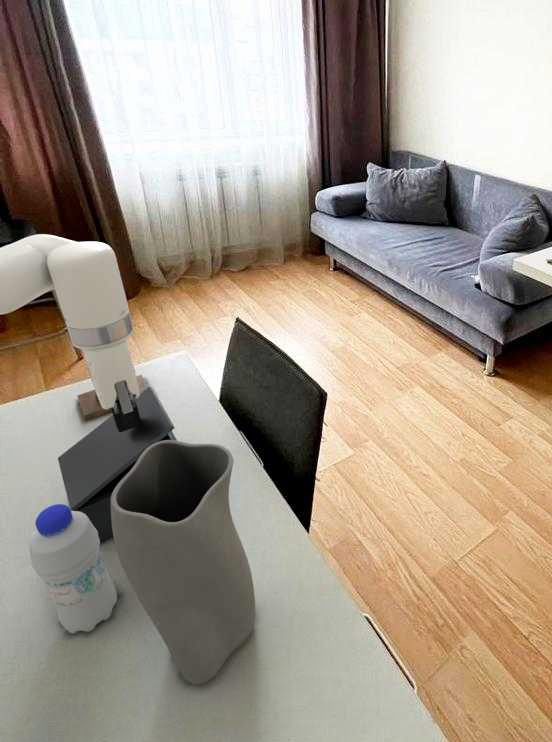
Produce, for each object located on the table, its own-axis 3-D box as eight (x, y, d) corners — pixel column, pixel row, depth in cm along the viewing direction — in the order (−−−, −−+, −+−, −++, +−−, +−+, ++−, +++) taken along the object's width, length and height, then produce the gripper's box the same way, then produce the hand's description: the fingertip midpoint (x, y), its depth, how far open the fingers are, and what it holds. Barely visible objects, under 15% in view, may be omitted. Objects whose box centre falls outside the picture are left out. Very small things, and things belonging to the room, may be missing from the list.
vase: (217, 715, 58) (173, 545, 45) (136, 675, 61) (73, 505, 48) (280, 614, 69) (259, 453, 56) (208, 584, 72) (172, 425, 59)
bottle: (49, 632, 65) (-1, 528, 56) (93, 584, 71) (55, 483, 62) (91, 647, 64) (47, 543, 55) (133, 597, 70) (99, 496, 61)
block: (86, 424, 99) (81, 408, 97) (79, 403, 104) (74, 388, 103) (153, 400, 107) (149, 385, 105) (143, 382, 112) (139, 367, 110)
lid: (153, 388, 85) (149, 385, 85) (175, 428, 77) (171, 425, 77) (61, 460, 80) (57, 457, 79) (74, 511, 71) (70, 509, 71)
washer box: (174, 456, 93) (166, 420, 89) (196, 499, 85) (188, 461, 81) (74, 499, 83) (60, 461, 79) (88, 553, 75) (73, 512, 71)
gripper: (61, 314, 73) (92, 411, 81) (78, 360, 63) (112, 465, 71) (119, 300, 78) (143, 393, 86) (144, 341, 68) (168, 441, 76)
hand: (129, 425), depth 78 cm, fingers closed
